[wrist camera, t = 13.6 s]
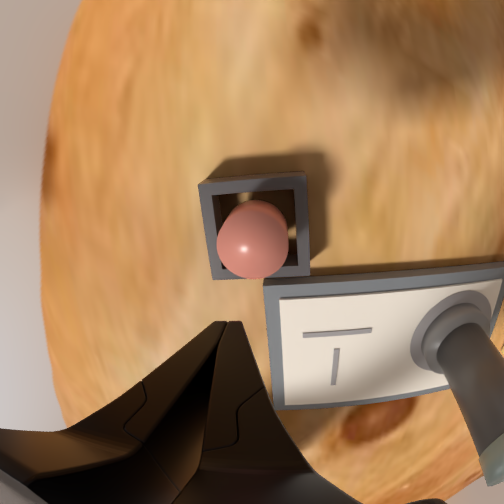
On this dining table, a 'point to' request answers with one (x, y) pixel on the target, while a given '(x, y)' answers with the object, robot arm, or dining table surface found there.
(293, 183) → the button housing
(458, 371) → the grey tall round-topped cylinder
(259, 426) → the robot arm
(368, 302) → the drawing board
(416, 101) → the dining table surface
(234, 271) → the button
